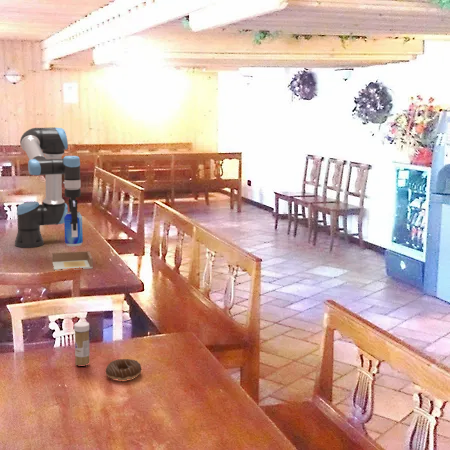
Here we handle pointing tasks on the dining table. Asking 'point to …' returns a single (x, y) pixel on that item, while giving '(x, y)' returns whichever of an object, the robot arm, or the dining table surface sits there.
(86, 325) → the sprinkles bottle
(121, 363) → the donut
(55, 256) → the tray
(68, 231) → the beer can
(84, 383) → the dining table surface
